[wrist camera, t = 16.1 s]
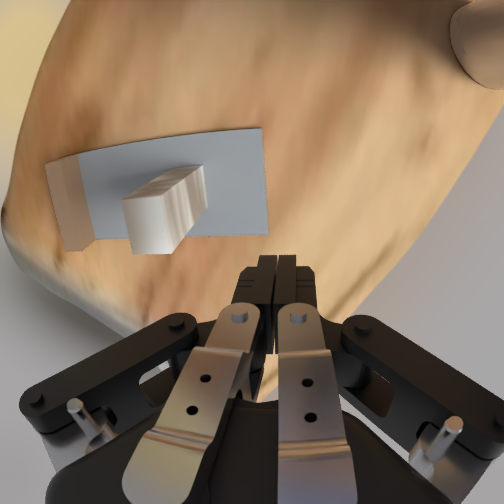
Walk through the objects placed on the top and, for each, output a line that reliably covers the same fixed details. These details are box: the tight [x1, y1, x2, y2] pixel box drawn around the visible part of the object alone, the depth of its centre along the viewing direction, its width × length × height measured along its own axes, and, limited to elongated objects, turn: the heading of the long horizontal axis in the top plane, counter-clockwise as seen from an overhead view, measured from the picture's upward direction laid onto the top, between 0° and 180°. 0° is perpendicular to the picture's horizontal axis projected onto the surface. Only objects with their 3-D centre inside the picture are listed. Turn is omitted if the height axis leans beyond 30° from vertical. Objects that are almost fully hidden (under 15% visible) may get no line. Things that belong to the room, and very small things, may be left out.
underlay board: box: [44, 128, 269, 251], centre depth 29 cm, size 22×10×4 cm, turn 95°
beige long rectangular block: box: [121, 165, 208, 254], centre depth 25 cm, size 3×4×10 cm
